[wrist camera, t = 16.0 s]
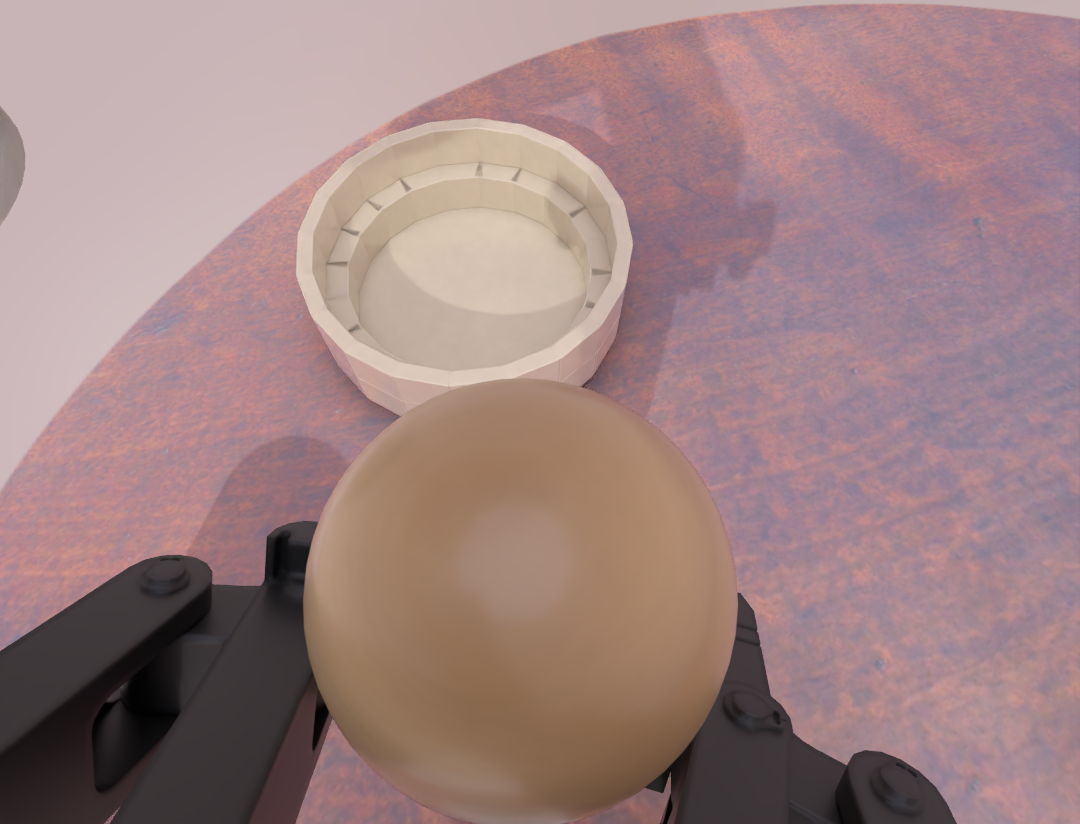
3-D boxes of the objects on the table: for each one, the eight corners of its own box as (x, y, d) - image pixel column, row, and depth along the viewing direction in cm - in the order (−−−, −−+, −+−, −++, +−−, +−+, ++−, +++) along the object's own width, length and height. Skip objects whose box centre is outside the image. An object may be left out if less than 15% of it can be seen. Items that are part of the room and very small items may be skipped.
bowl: (325, 450, 34) (289, 403, 29) (330, 204, 41) (302, 132, 36) (643, 416, 35) (661, 364, 30) (595, 180, 42) (602, 107, 37)
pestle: (457, 775, 18) (191, 924, 4) (447, 602, 20) (243, 317, 6) (625, 752, 18) (893, 821, 4) (598, 584, 20) (726, 270, 6)
